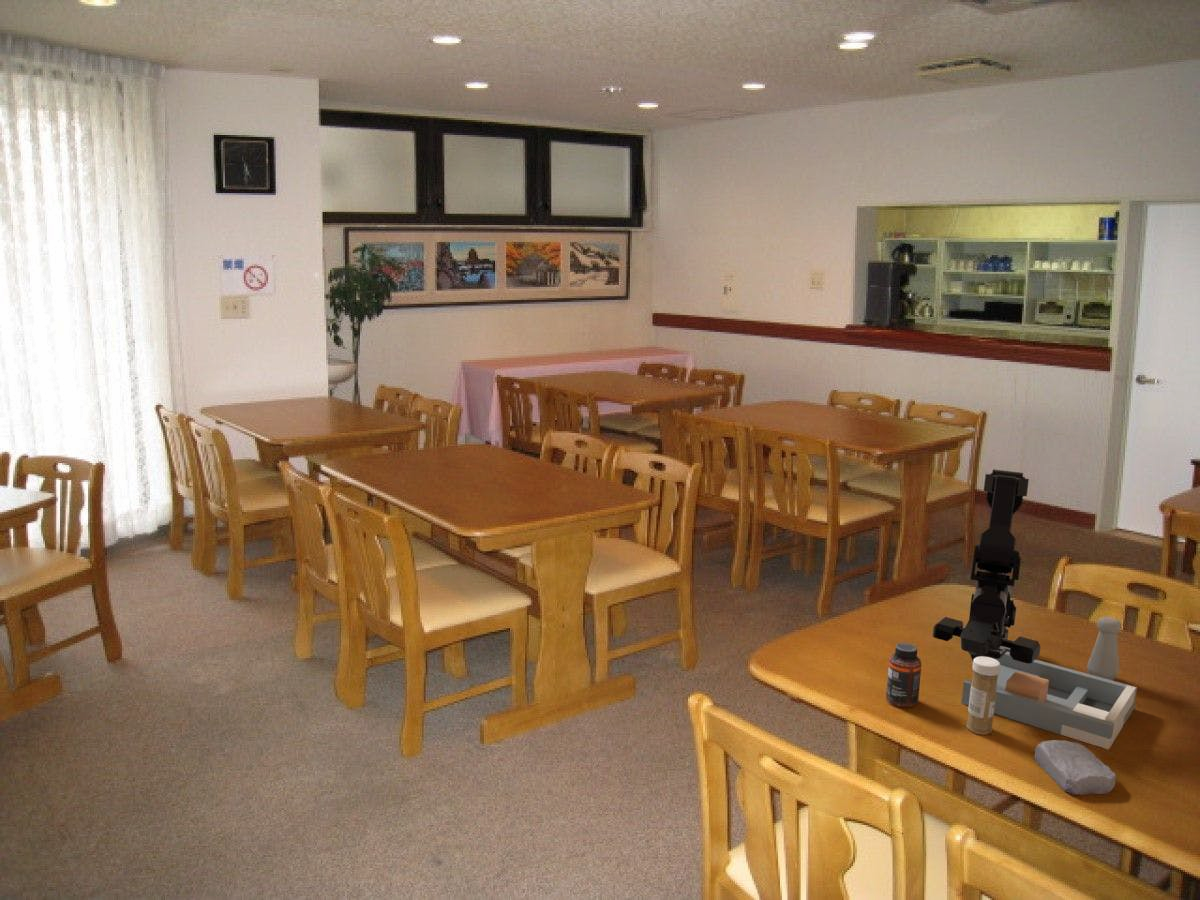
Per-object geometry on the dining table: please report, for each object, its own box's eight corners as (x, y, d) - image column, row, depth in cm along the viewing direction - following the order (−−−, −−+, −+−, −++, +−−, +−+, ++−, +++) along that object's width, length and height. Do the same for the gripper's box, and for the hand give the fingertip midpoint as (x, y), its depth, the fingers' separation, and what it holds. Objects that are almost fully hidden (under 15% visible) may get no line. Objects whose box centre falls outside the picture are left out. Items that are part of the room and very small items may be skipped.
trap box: (961, 703, 194) (964, 679, 193) (995, 669, 209) (998, 646, 208) (1108, 749, 178) (1112, 723, 177) (1133, 709, 194) (1137, 684, 193)
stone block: (1079, 766, 176) (1027, 757, 175) (1088, 742, 175) (1036, 733, 174) (1119, 807, 165) (1063, 798, 163) (1129, 782, 164) (1073, 772, 162)
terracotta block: (1004, 700, 191) (1006, 681, 190) (1013, 689, 196) (1016, 670, 195) (1037, 710, 188) (1039, 690, 187) (1046, 699, 192) (1049, 679, 191)
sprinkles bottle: (997, 734, 183) (1006, 665, 180) (974, 736, 182) (983, 667, 179) (982, 722, 187) (990, 654, 184) (960, 724, 186) (968, 656, 183)
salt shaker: (1120, 687, 203) (1129, 626, 200) (1089, 683, 204) (1098, 623, 201) (1112, 674, 208) (1121, 615, 205) (1082, 671, 209) (1091, 612, 207)
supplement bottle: (918, 697, 196) (924, 643, 193) (917, 711, 190) (923, 655, 188) (886, 692, 198) (891, 638, 195) (884, 705, 192) (889, 650, 190)
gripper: (926, 604, 193) (918, 680, 196) (1028, 630, 181) (1017, 710, 185) (947, 588, 201) (939, 661, 205) (1045, 612, 190) (1035, 689, 193)
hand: (980, 680), depth 197 cm, fingers closed
